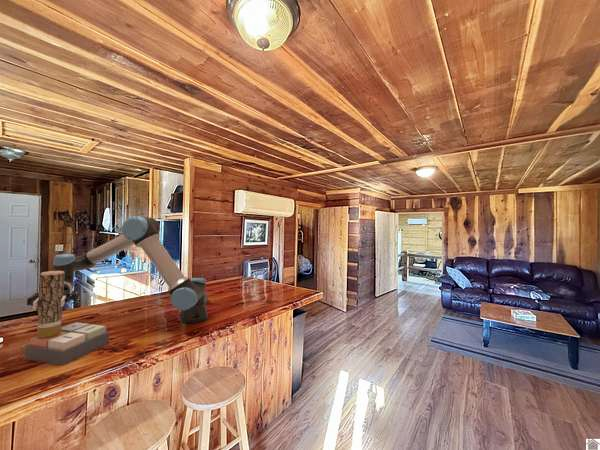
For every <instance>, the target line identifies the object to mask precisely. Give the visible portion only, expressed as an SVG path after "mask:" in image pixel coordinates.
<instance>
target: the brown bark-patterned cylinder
mask: <svg viewBox="0 0 600 450" xmlns="http://www.w3.org/2000/svg"><path fill="white" fill-rule="evenodd" d="M64 275H65V271H53V270H50V271H43V272H40V275H39V277H40V278H39V279H40V280H39V292H38V293H39V306H38V307H37V309H38V310H37V311H38V313H37V325H36V327H37V329H36V336H37V337H39V338H48V337H52V336H55V335H58V334H59V333H60V332H61V327H62V323H63V309H64V308H63V307H64V306H61V299H62V297H63V292H64ZM60 306H61V307H60Z"/></svg>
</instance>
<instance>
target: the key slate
mask: <svg viewBox="0 0 600 450" xmlns="http://www.w3.org/2000/svg"><path fill="white" fill-rule="evenodd" d="M89 325H91V324H90V323H85V322H84V323H83V322H77V321H76V322H73V323H70V324H66V325H64V326H61V332H68V333H70V332H72V333H74V331H75V330H78V329H81V328H83V327H86V326H89Z"/></svg>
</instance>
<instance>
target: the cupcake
mask: <svg viewBox="0 0 600 450" xmlns="http://www.w3.org/2000/svg"><path fill="white" fill-rule="evenodd" d="M209 298H210V294H209V292H207V291H205V304H206V303H207V301H208V299H209Z"/></svg>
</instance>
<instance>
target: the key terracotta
mask: <svg viewBox="0 0 600 450" xmlns="http://www.w3.org/2000/svg"><path fill="white" fill-rule="evenodd" d="M67 333H68V332H60V333H59V334H58V335H55V336H52V337H48V338H39V337H37V335H36V336H33V337H31V338H30V343H29V344H30V346H37V347H43V348H46V347H48V340H51V339H53V338H56V337H59V336H62V335H64V334H67Z"/></svg>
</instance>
